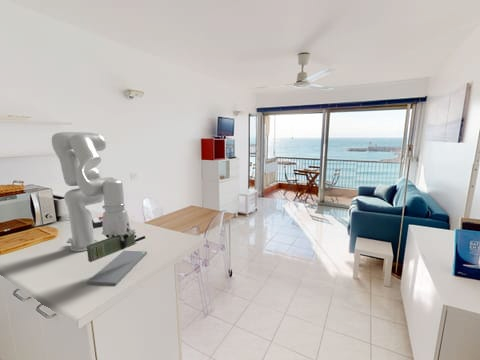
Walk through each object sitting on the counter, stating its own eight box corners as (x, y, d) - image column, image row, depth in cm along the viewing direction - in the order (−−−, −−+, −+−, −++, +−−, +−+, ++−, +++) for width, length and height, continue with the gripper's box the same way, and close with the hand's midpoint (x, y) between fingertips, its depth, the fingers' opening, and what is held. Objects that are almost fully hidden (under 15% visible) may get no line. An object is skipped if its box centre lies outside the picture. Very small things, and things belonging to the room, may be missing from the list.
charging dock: (87, 283, 94) (87, 281, 93) (124, 252, 119) (123, 250, 119) (116, 285, 93) (116, 282, 92) (146, 253, 118) (146, 251, 118)
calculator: (119, 218, 161) (93, 222, 151) (119, 224, 161) (94, 228, 151) (115, 214, 169) (90, 217, 159) (115, 220, 169) (91, 224, 160)
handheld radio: (87, 260, 95) (142, 238, 115) (91, 263, 93) (147, 240, 113) (85, 245, 93) (141, 225, 114) (89, 247, 92) (145, 227, 112)
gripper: (90, 210, 98) (95, 251, 101) (128, 211, 97) (132, 252, 100) (102, 205, 105) (106, 244, 109) (138, 206, 104) (141, 244, 107)
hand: (119, 247), depth 104 cm, fingers closed on handheld radio, 3 cm apart
